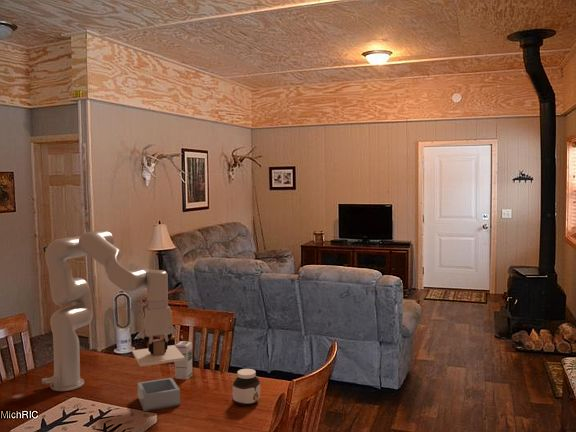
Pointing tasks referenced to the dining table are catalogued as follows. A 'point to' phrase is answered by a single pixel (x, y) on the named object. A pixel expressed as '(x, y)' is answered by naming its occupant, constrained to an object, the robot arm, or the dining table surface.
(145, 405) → the dish
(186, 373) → the syrup box
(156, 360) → the lid
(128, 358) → the dining table surface
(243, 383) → the spread jar
